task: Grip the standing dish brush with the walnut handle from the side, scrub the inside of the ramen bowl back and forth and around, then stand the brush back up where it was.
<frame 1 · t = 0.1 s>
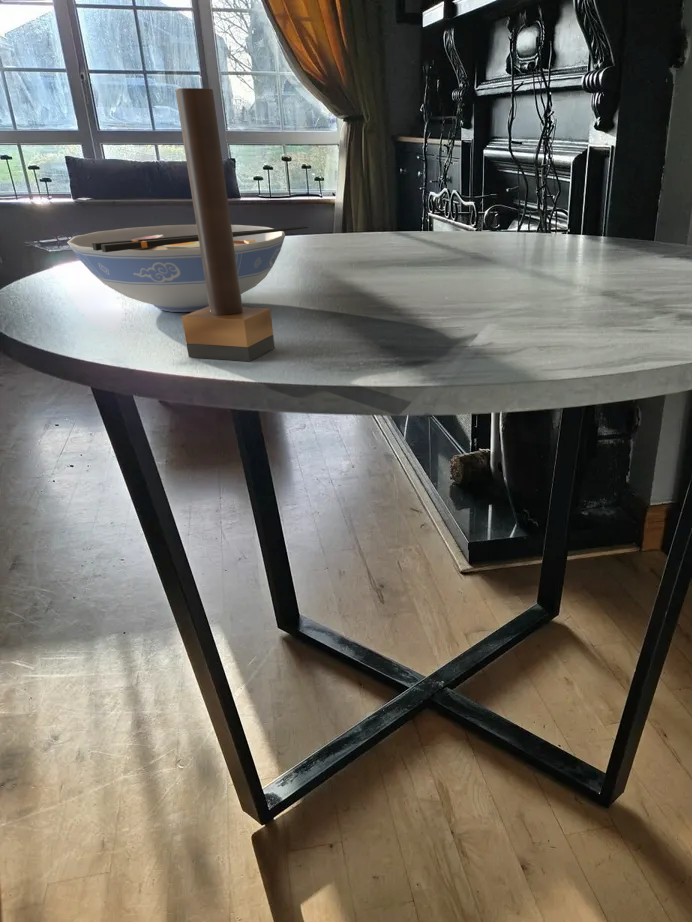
brush: (232, 352, 70), on the table
ramen bowl: (192, 308, 89), on the table
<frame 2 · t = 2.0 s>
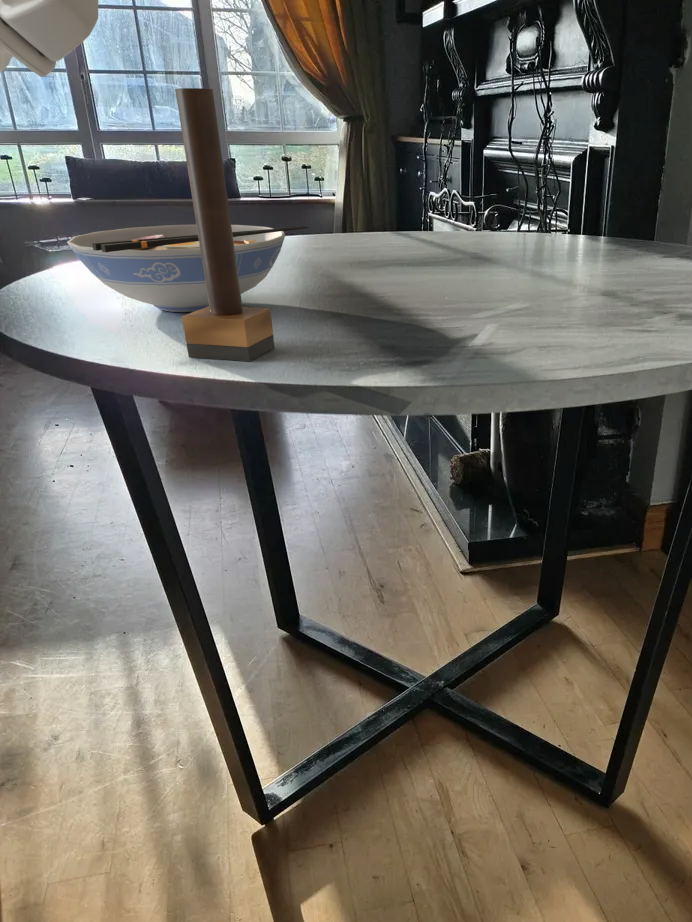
nothing on the table moved.
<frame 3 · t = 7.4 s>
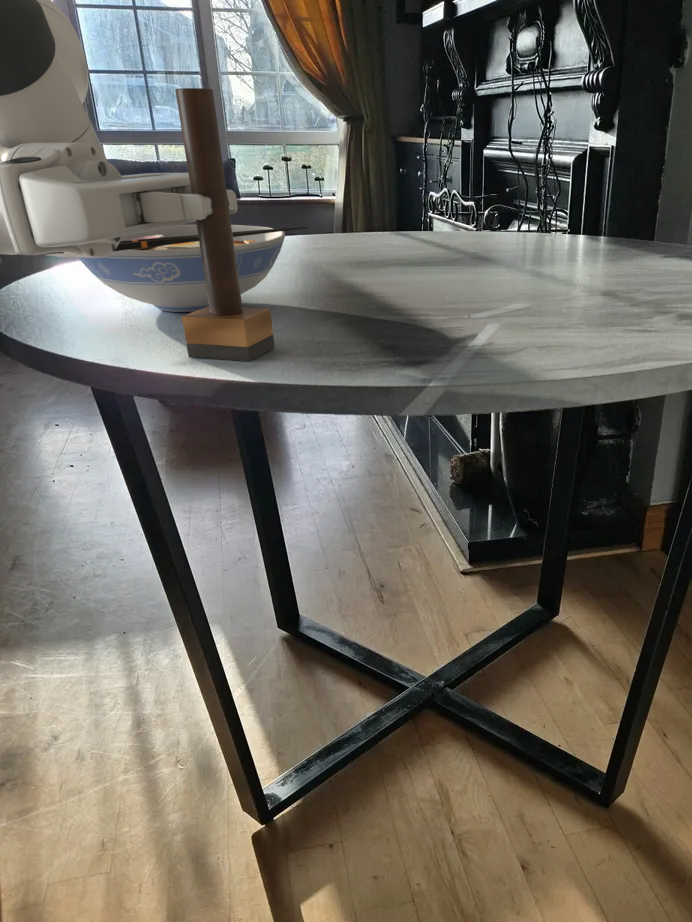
hand: (220, 204, 64), 12 cm above the table, tool horizontal, fingers closed on brush, 3 cm apart
brush: (232, 352, 70), on the table, touching gripper
everything else where it was.
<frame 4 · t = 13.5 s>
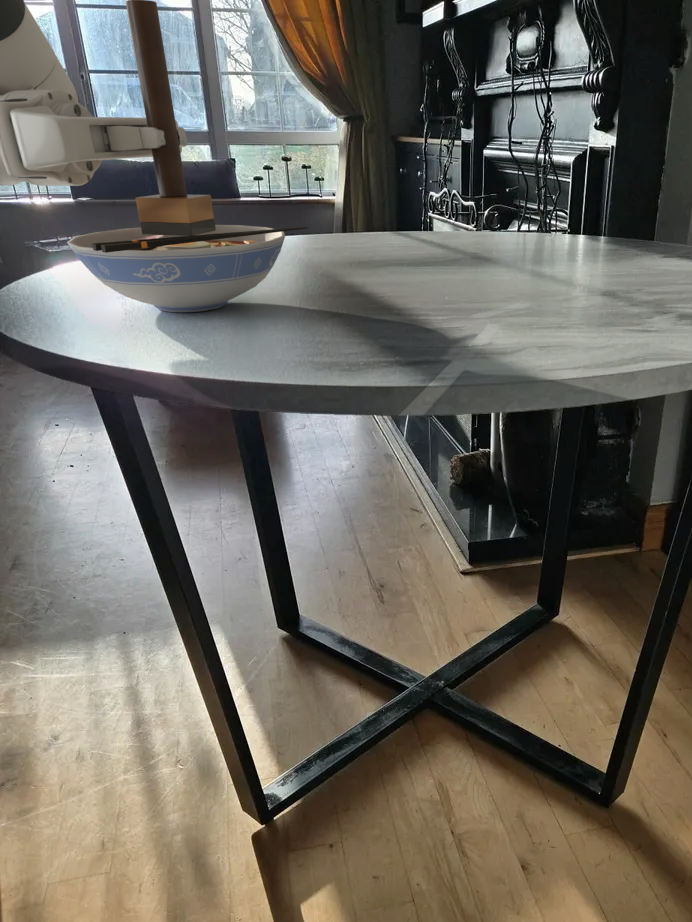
hand: (172, 137, 80), 17 cm above the table, tool horizontal, fingers closed on brush, 3 cm apart
brush: (179, 232, 84), point 8 cm above the table, touching gripper, ramen bowl
ramen bowl: (192, 308, 89), on the table, touching brush
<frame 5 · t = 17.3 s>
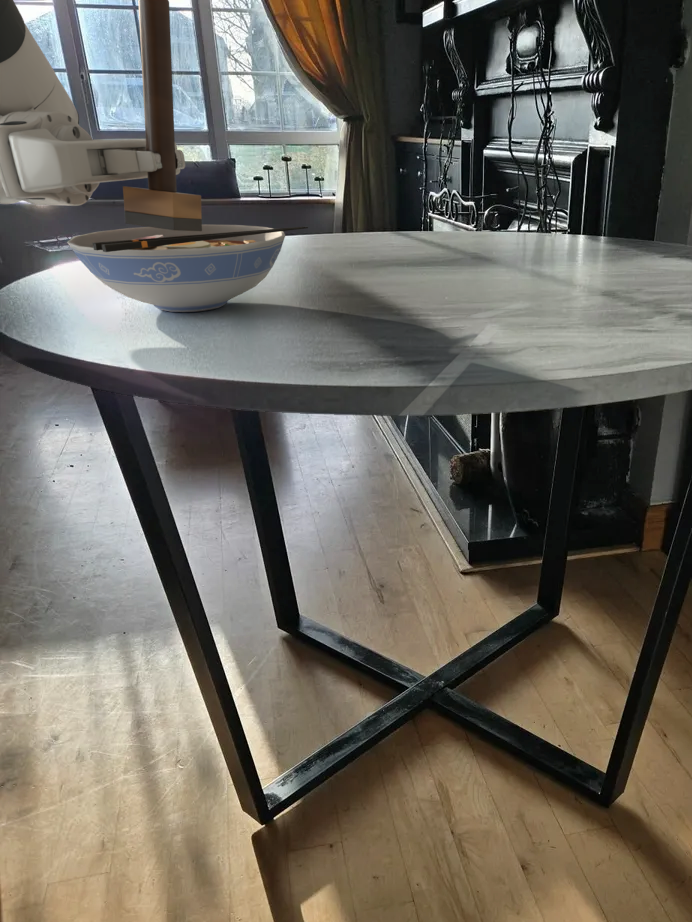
hand: (169, 160, 80), 15 cm above the table, tool horizontal, fingers closed on brush, 3 cm apart
brush: (164, 227, 83), point 8 cm above the table, tilted 8°, touching gripper
ramen bowl: (192, 308, 89), on the table
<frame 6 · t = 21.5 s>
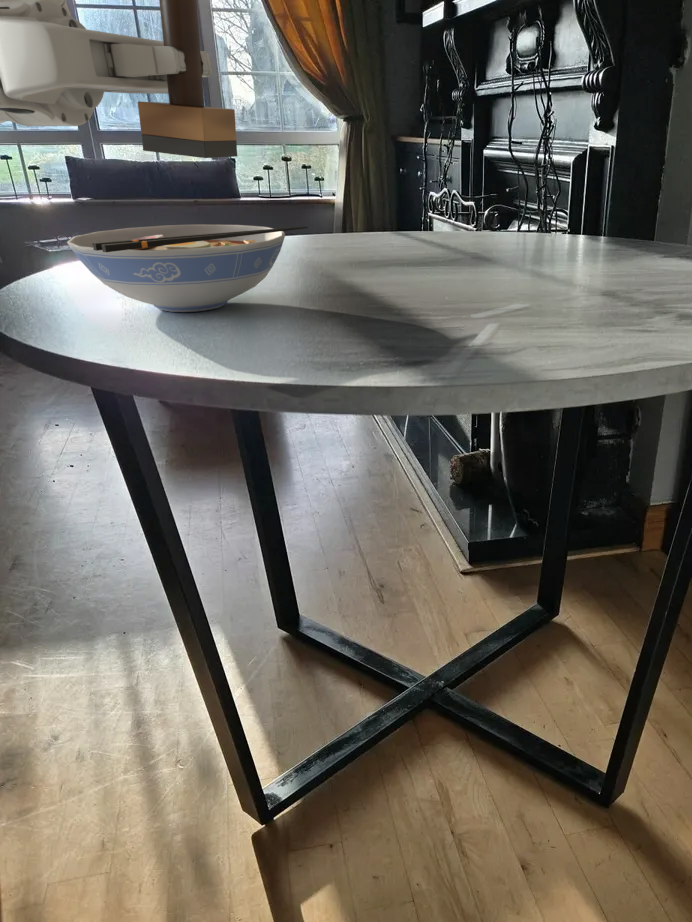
hand: (194, 62, 63), 22 cm above the table, tool horizontal, fingers closed on brush, 3 cm apart
brush: (191, 153, 67), point 16 cm above the table, touching gripper
everything else where it was.
when the fingers open (10 cm above the table, at t = 25.9 s): brush drops 3 cm, on the table.
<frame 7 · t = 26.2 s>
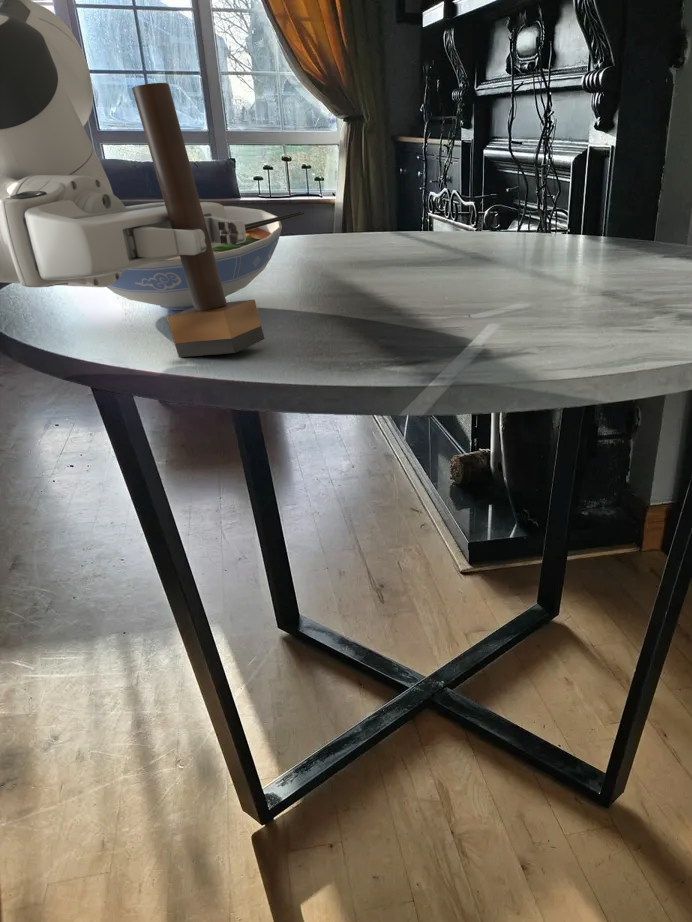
hand: (222, 237, 65), 10 cm above the table, tool horizontal, fingers open, 5 cm apart
brush: (222, 348, 70), on the table, tilted 8°
ramen bowl: (193, 301, 89), on the table, touching arm
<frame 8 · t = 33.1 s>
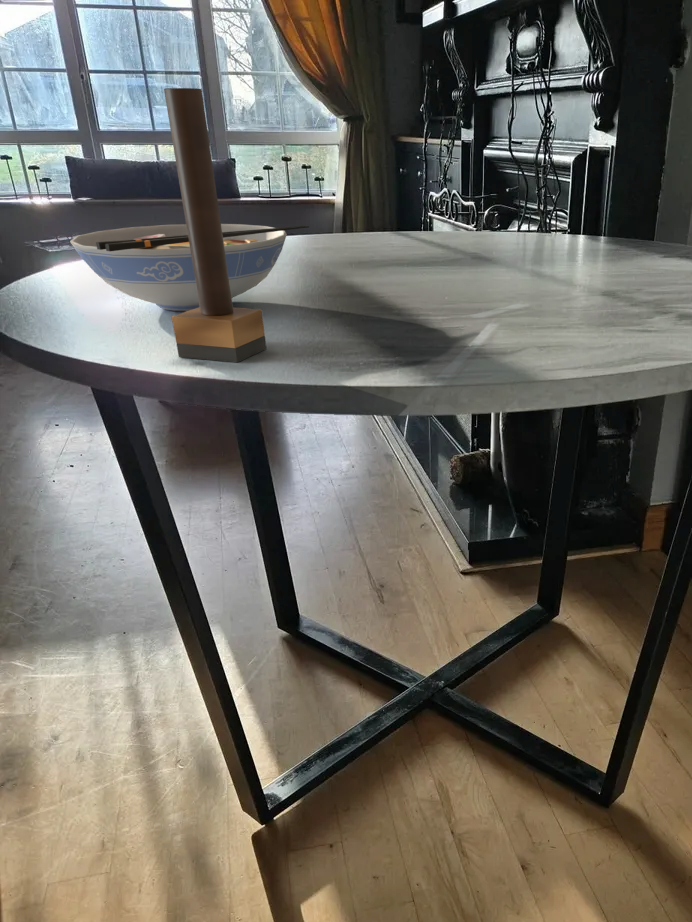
brush: (223, 353, 70), on the table
ramen bowl: (194, 307, 89), on the table
at the end: brush tilted 0°; brush inside the target area (0.8 cm from its centre), on the table; ramen bowl moved 0.7 cm from its start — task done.
